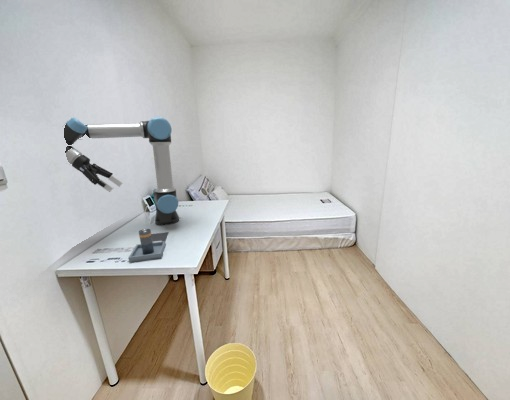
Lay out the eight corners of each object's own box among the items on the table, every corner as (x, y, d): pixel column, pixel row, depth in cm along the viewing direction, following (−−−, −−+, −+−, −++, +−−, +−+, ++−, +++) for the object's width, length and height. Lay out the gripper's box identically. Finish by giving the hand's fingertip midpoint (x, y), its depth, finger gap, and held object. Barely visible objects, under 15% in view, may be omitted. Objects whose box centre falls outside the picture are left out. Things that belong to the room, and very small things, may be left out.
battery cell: (144, 250, 114) (139, 228, 111) (155, 249, 115) (151, 227, 112) (141, 255, 109) (137, 232, 106) (152, 253, 110) (148, 230, 107)
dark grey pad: (147, 235, 134) (146, 234, 133) (169, 232, 136) (168, 231, 136) (140, 246, 120) (140, 244, 120) (165, 243, 123) (165, 241, 122)
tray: (137, 249, 117) (136, 244, 116) (165, 245, 120) (165, 241, 119) (129, 262, 104) (128, 257, 104) (161, 258, 107) (160, 253, 106)
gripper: (84, 163, 126) (120, 187, 133) (57, 168, 103) (102, 198, 109) (93, 152, 126) (128, 178, 133) (67, 155, 102) (112, 186, 109)
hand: (116, 187), depth 121 cm, fingers open, 13 cm apart
